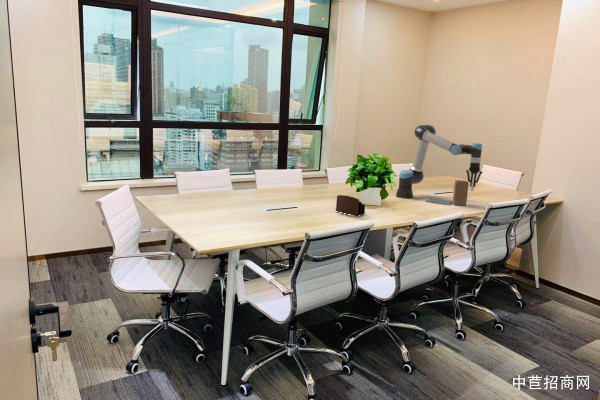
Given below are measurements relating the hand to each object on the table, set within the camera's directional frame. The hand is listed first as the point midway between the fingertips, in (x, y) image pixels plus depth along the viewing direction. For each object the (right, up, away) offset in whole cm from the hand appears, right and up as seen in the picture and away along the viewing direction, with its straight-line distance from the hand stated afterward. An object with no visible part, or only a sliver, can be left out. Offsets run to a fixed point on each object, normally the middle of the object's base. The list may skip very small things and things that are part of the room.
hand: (472, 190), depth 381 cm
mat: (-22, -9, +16) cm, 28 cm away
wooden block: (-8, -12, +7) cm, 16 cm away
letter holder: (-105, -18, -34) cm, 111 cm away
